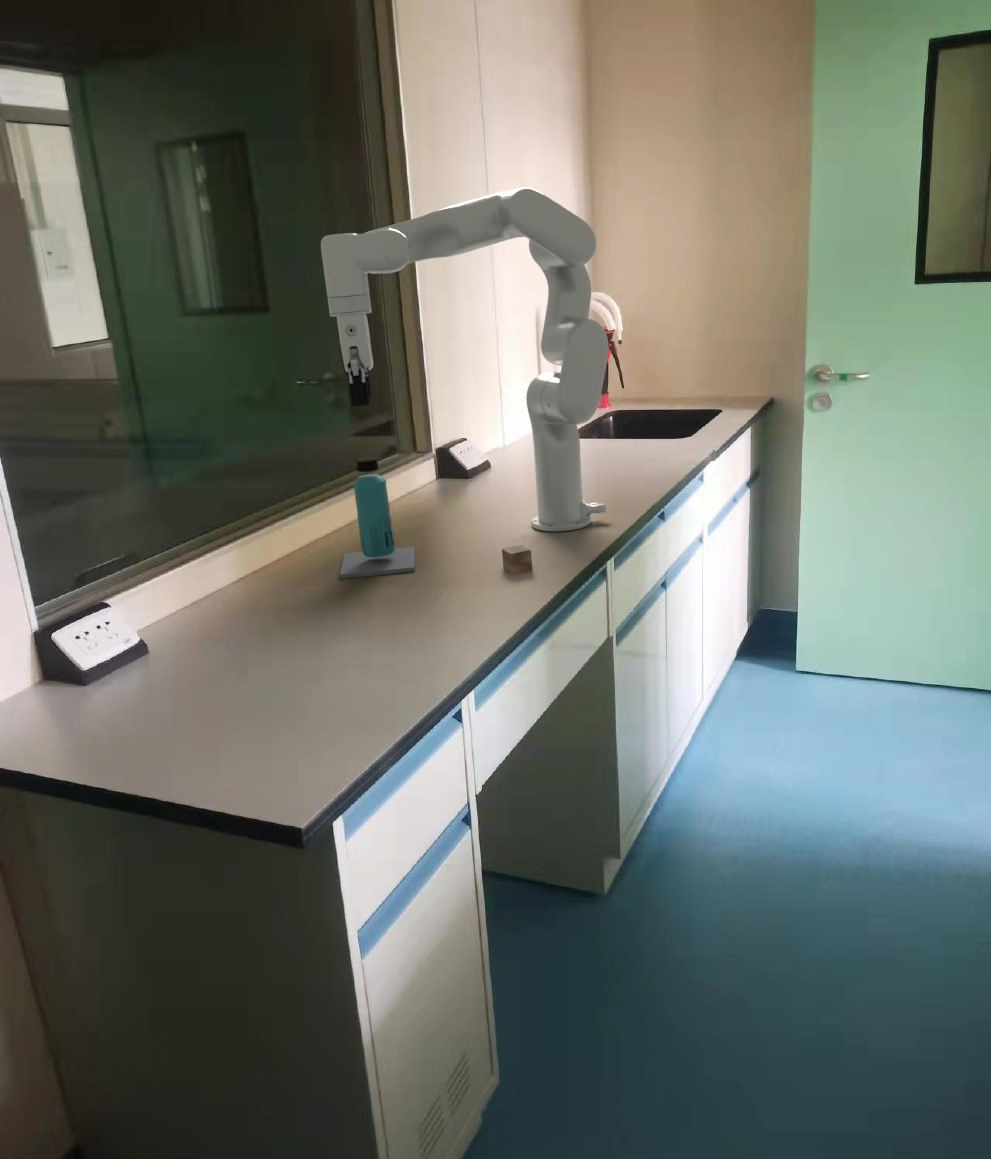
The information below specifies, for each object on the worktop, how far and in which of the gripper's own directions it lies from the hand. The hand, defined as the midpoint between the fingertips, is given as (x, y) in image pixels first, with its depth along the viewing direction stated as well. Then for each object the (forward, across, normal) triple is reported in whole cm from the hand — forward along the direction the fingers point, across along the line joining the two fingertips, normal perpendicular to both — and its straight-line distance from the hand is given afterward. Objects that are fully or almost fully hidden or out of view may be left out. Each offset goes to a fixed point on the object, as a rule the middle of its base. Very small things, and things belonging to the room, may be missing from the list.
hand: (361, 401), depth 183 cm
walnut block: (+32, -13, -25) cm, 43 cm away
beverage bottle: (+31, -1, 0) cm, 31 cm away
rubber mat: (+31, -1, +1) cm, 31 cm away
